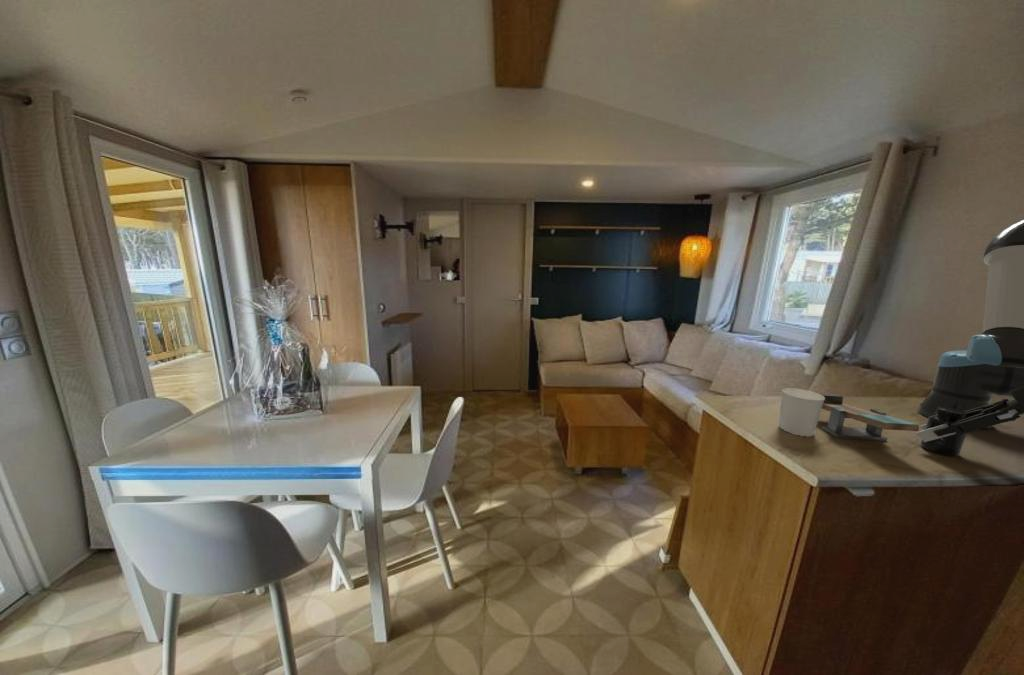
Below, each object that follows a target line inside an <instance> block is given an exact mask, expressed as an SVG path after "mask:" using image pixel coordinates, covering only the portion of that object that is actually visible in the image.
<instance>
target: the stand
mask: <svg viewBox="0 0 1024 675" xmlns="http://www.w3.org/2000/svg"><path fill="white" fill-rule="evenodd" d="M869 411H871V412H874V413H878V414H881V415H886V416H887V412H884V411H883V410H880V409H878V408H870V410H869ZM845 415H846V411H845V410H843V409H841V408H839V407H832V409H831V412H830V415H829V419H828V422H827V425H822V426H821V430H823V431H824V432H826V433H827V434H829V433H830V434H829V435H831V436H833V437H835V438H836V439H842V440H843V439H845V440H846V439H847V440H860V441H861V440H862V441H863V440H864V441H879V442H887V441H888V437H886V436H885V435H882V432H883V429H882V428H879V427H876V426H873V425H870V424H867V423H866V426H865V427H846V426H844V423H845V419H846V418H845Z"/></svg>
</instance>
